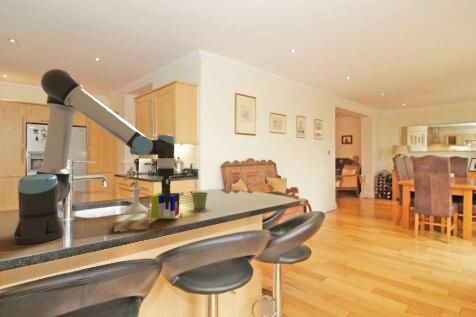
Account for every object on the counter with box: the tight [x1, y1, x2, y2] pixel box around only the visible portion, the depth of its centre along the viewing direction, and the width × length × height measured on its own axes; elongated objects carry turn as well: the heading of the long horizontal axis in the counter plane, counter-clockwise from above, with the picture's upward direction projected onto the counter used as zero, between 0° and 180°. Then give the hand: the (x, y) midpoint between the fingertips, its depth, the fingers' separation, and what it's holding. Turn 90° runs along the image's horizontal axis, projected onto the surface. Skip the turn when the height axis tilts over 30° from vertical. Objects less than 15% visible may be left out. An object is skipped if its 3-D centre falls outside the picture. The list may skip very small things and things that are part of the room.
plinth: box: [113, 212, 149, 233], centre depth 117 cm, size 13×13×4 cm
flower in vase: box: [123, 166, 149, 215], centre depth 138 cm, size 13×11×25 cm
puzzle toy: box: [150, 192, 180, 219], centre depth 128 cm, size 10×10×10 cm
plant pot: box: [190, 191, 209, 210], centre depth 155 cm, size 9×9×9 cm
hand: (165, 213), depth 128 cm, fingers closed on puzzle toy, 12 cm apart
